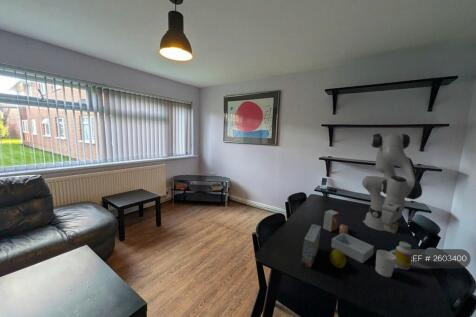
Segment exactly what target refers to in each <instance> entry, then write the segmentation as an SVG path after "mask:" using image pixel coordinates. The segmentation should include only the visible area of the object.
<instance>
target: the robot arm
mask: <svg viewBox="0 0 476 317" xmlns="http://www.w3.org/2000/svg"><path fill="white" fill-rule="evenodd" d="M410 144H411V137H410V136H409V135H408V134H405V133H395V132H393V133H392V132H390V133H386V132H385V133H374V134H373V135H372V136H371V138H370V145H371V147H372V148H377V149H378V150H377V152H376V160H375V170H377V171H378V172H380V173H382V174H383V176H376V175H370V176H369V175H367V176H364V177H363V179H362V182H361V183H362V187H363V188H364V189H365V190H366V191H367V192H368V193H369V195H370V206H369V209H368V212H367V213H366V215H365V219H363V220H362V222H363V223H364V224H365V226H367V227H369V228H371V229H374V230H377V231H380V232H387V231H386V230H383V229H384V224H386V229H388V230H390V229H391V224H392V223H393V222H397V220H399V219H400V218H402V215H403V211H404V210H405V207H406V206H405V205H406V199H409V200H416V199H418V198H420V197H422V195H423V188H422V187H423V186H422V185H421V183H420V181H419V178H418V176H417V171H416V169H415V165H414V162H413V160H412V158H410V157H408V156H407V154H406V153H405V151H404V150H405V149H406V148H408V147H409V146H410ZM395 167H399V168H400V169H402V170H403V171H404V173H405V177H406V178H404V177H403V176H399V175H397V173H396V171H395ZM381 193H383V194H384V195H385V196H384V195H382V194H381Z"/></svg>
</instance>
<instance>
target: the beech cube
mask: <svg viewBox="0 0 476 317" xmlns="http://www.w3.org/2000/svg"><path fill="white" fill-rule="evenodd" d="M398 227H399V222H397V221H396V222H393V223H392V224H391V229H390V230H388V229H386V224H384V229H383V230H386V231H385V232H388V233H392V234H396V233H397V232H398Z"/></svg>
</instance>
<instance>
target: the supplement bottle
mask: <svg viewBox="0 0 476 317" xmlns="http://www.w3.org/2000/svg"><path fill="white" fill-rule="evenodd" d="M398 244H399V245H397V246H396V247H395V253H394V255H395V256H396V262H395V266H396V267H397V268H400V269H401V270H406V271H408V270H410V268H411V262H412V256H413V250H412V245H411V244H410V243H408V242H406V241H399V243H398Z"/></svg>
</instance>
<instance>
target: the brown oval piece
mask: <svg viewBox="0 0 476 317" xmlns="http://www.w3.org/2000/svg"><path fill="white" fill-rule="evenodd" d="M348 230H349V226H348V225H346V224H343V223H342V224H340V225H339V231H338V235H340V234H342V233H345V234H347V235H348V233H349V231H348Z"/></svg>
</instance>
